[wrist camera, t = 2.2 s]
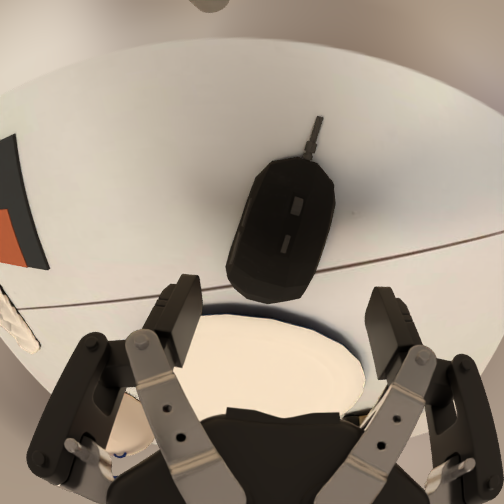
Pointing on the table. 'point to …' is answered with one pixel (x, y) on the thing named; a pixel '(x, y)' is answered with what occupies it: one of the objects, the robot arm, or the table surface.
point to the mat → (16, 214)
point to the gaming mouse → (282, 229)
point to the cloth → (16, 325)
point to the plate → (267, 368)
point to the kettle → (129, 429)
